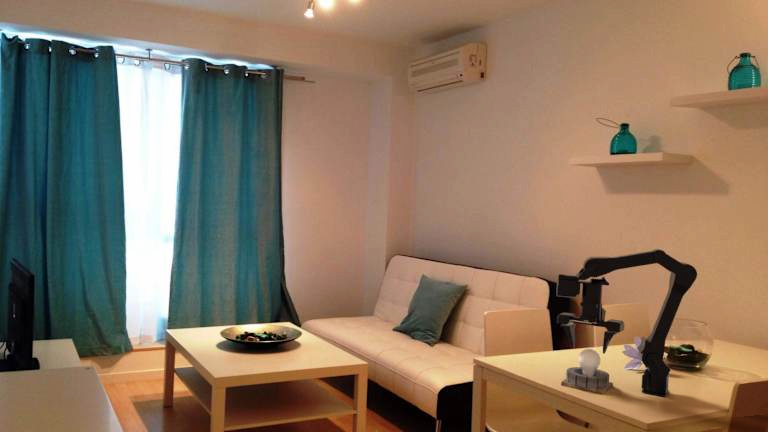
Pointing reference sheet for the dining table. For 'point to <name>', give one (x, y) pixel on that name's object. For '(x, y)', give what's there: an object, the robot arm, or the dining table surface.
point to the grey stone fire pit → (587, 380)
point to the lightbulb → (589, 361)
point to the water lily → (633, 355)
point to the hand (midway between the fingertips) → (588, 350)
